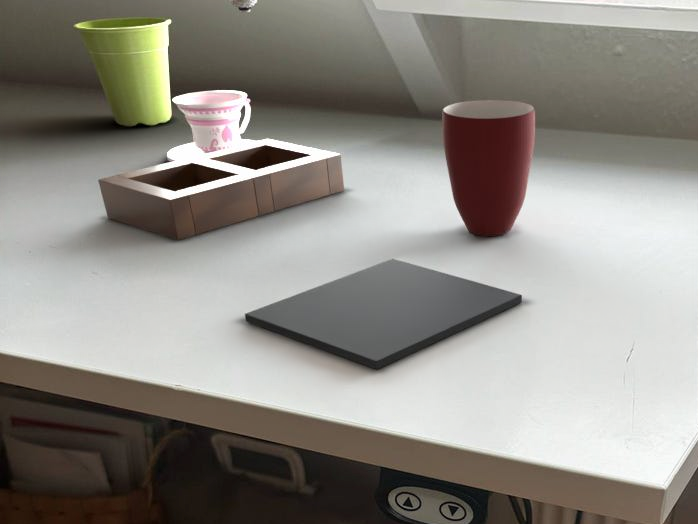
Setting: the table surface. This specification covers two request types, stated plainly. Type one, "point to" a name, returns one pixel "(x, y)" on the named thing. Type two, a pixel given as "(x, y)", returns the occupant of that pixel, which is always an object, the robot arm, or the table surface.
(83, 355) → the table surface
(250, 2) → the light bulb
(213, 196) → the wooden divided tray
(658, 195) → the table surface
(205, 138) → the teacup
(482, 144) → the mug
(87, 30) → the plant pot
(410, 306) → the mat
